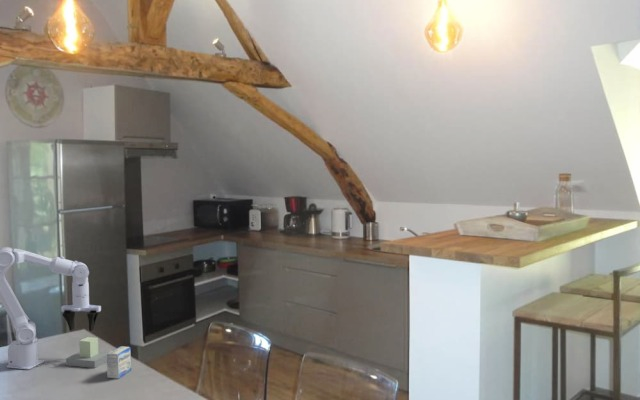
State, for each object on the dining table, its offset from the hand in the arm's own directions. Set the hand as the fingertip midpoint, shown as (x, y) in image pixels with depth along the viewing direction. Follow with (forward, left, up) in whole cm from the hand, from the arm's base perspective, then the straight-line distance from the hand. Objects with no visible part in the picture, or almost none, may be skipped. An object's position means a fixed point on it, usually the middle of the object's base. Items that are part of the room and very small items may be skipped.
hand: (81, 329), depth 199 cm
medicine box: (+24, -12, -11) cm, 29 cm away
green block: (+6, -4, -8) cm, 11 cm away
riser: (+6, -4, -10) cm, 13 cm away
